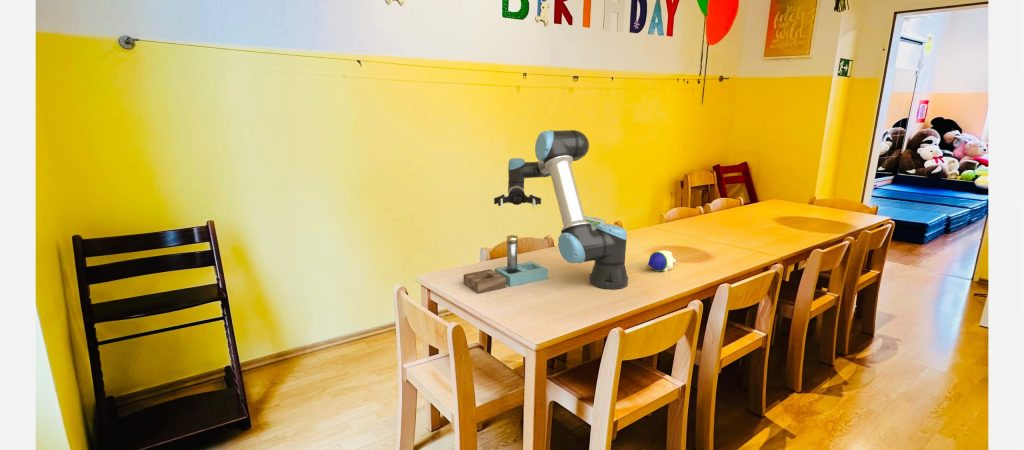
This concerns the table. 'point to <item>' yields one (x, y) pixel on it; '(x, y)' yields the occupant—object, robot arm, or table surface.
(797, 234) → the table surface
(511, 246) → the grey metal cylinder
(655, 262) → the cartoon head
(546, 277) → the block
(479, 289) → the socket block
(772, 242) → the table surface
